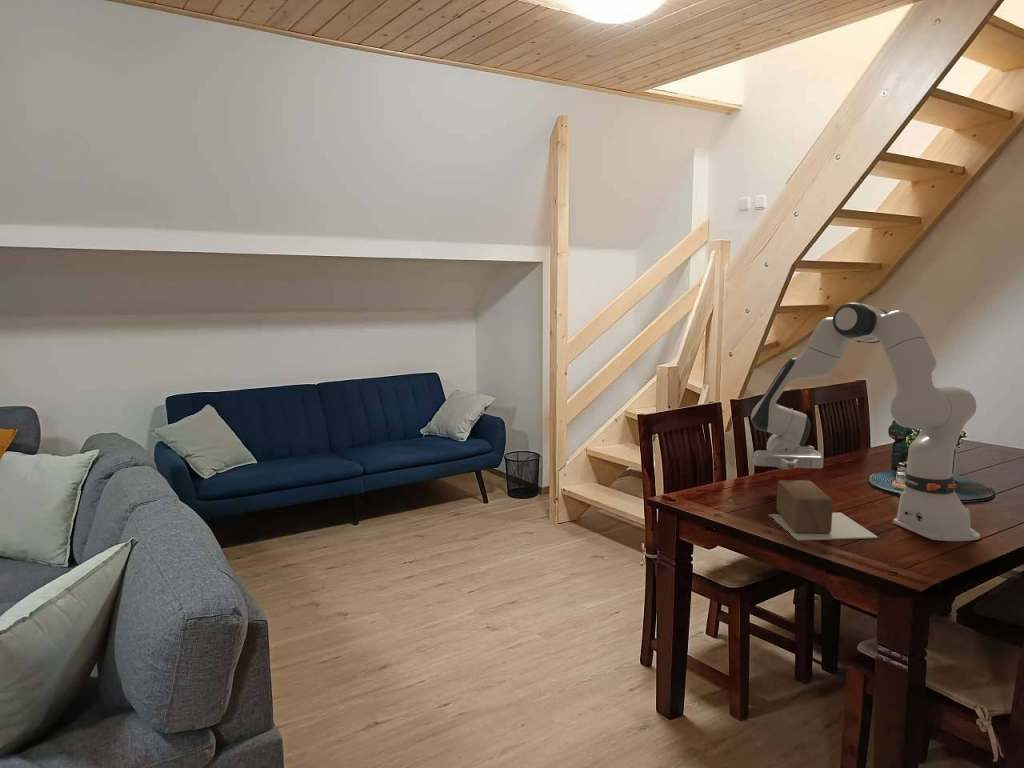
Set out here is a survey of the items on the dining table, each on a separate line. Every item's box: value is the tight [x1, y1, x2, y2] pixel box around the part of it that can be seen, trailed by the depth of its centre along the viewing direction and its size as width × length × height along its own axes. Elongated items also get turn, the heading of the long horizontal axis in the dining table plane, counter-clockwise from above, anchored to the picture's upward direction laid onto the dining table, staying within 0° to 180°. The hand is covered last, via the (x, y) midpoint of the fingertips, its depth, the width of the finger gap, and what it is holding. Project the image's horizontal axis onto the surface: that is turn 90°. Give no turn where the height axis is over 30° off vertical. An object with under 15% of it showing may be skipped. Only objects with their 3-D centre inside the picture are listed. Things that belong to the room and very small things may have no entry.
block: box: [776, 479, 834, 533], centre depth 210 cm, size 10×10×20 cm
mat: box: [767, 512, 879, 541], centre depth 208 cm, size 21×22×1 cm
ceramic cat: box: [887, 419, 914, 469], centre depth 264 cm, size 20×6×20 cm, turn 37°
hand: (790, 465), depth 221 cm, fingers closed
